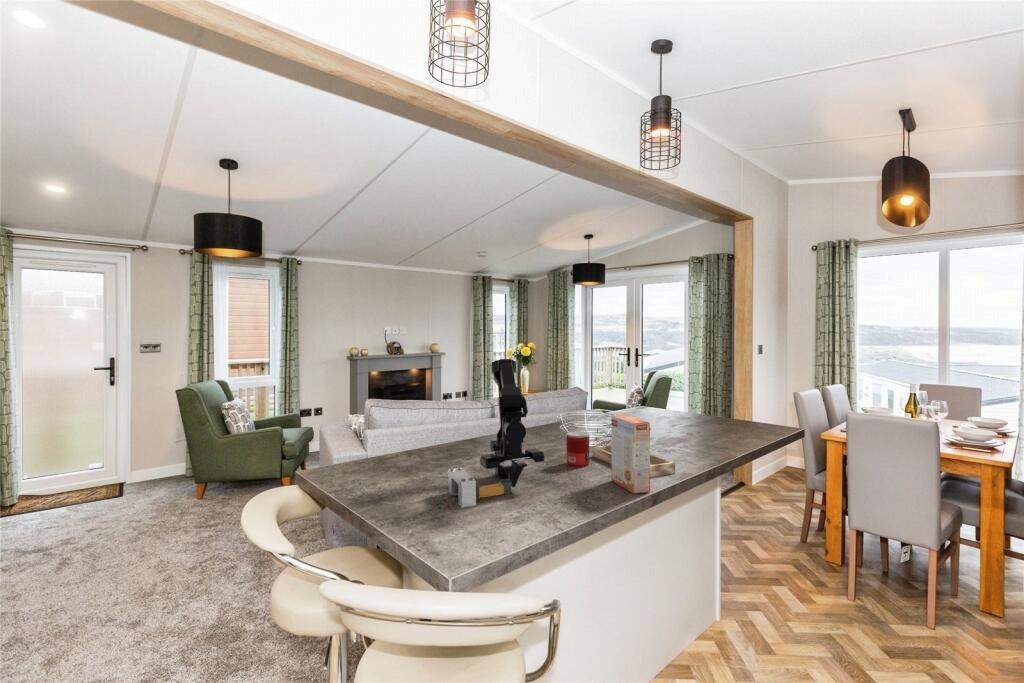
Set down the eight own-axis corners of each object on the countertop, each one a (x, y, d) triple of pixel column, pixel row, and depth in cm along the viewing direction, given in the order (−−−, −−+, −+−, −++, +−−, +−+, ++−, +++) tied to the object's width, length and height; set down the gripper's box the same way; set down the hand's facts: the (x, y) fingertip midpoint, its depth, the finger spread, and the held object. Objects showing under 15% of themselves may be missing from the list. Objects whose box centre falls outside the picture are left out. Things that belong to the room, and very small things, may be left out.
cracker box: (651, 492, 142) (650, 421, 141) (632, 494, 140) (632, 422, 140) (628, 478, 155) (627, 413, 155) (610, 480, 154) (610, 414, 153)
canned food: (591, 467, 169) (590, 435, 169) (568, 467, 169) (567, 436, 169) (587, 461, 176) (587, 431, 176) (565, 461, 177) (565, 431, 176)
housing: (461, 490, 146) (461, 466, 146) (476, 505, 133) (475, 479, 133) (448, 492, 144) (448, 468, 144) (462, 508, 132) (461, 481, 131)
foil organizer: (621, 452, 188) (621, 443, 188) (675, 473, 160) (675, 462, 160) (593, 456, 183) (592, 447, 183) (643, 478, 155) (642, 467, 155)
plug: (506, 489, 146) (506, 476, 146) (511, 493, 142) (511, 480, 142) (458, 497, 140) (458, 483, 140) (462, 501, 137) (462, 487, 137)
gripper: (528, 427, 155) (529, 475, 156) (473, 433, 148) (474, 483, 148) (544, 433, 145) (545, 485, 146) (486, 440, 138) (487, 494, 138)
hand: (513, 486), depth 145 cm, fingers closed
